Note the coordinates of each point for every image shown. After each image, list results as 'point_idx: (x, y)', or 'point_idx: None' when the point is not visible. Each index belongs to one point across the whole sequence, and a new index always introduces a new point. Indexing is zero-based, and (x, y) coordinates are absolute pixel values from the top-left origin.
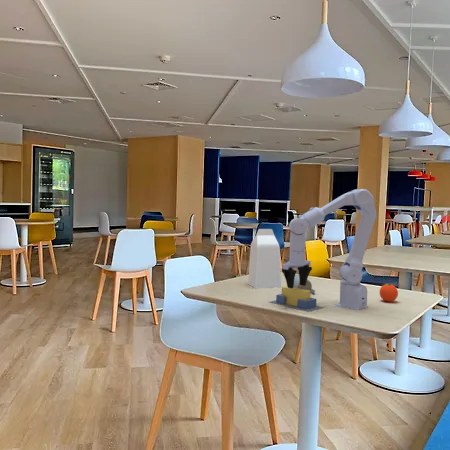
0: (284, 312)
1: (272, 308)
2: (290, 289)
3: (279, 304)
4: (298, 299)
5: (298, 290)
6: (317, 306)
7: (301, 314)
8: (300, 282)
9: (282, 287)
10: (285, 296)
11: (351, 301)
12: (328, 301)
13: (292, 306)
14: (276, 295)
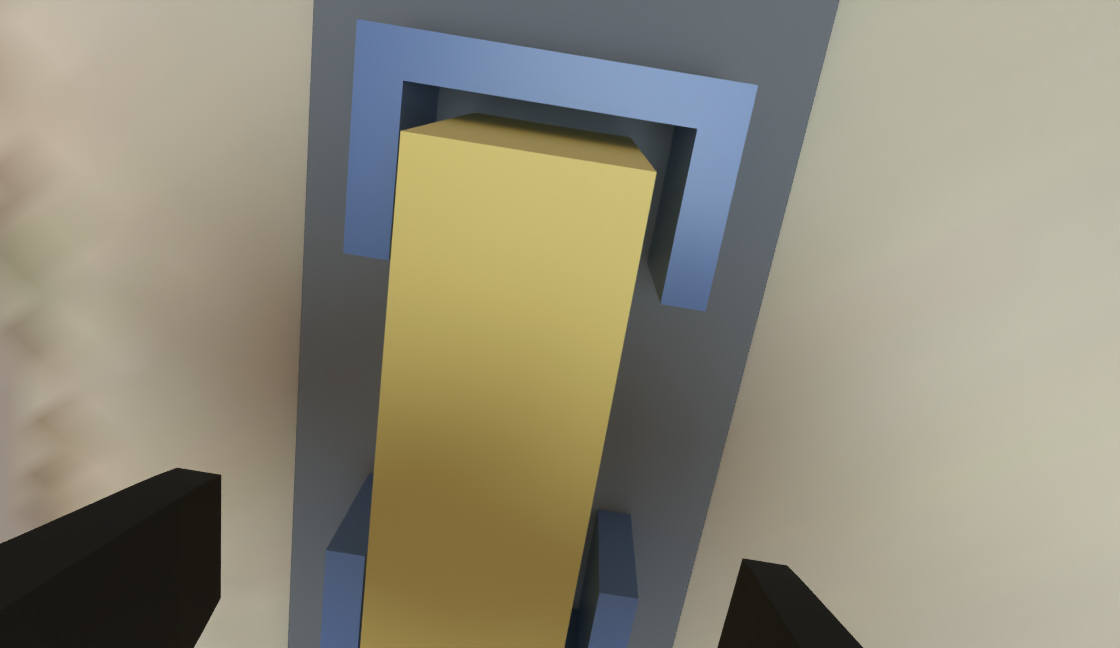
0: (45, 436)
1: (75, 180)
2: (384, 421)
3: (330, 159)
4: (339, 561)
5: (362, 636)
6: (635, 643)
7: None
8: (753, 619)
9: (399, 156)
10: (389, 257)
11: None
12: (1103, 613)
13: (374, 391)
14: (358, 24)
